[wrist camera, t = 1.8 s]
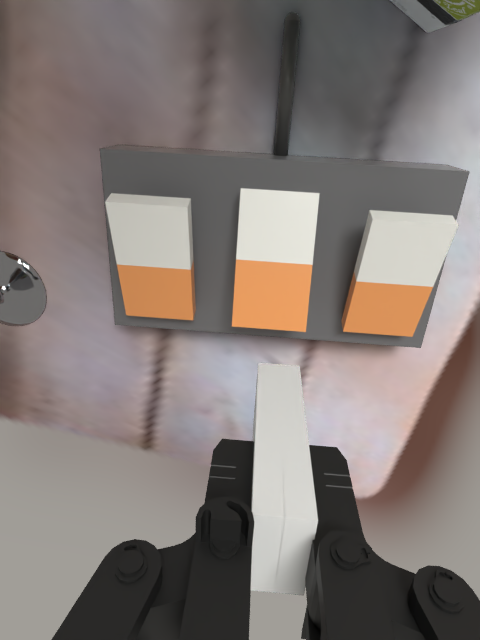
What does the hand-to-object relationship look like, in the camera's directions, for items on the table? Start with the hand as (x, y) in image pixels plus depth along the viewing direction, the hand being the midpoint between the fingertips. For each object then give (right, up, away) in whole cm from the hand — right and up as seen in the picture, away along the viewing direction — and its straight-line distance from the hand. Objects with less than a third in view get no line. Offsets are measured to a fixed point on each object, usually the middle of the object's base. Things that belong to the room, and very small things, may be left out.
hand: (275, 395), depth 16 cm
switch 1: (-7, +8, +14) cm, 17 cm away
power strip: (+2, +13, +16) cm, 21 cm away
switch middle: (+1, +7, +14) cm, 15 cm away
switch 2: (+9, +6, +13) cm, 17 cm away
